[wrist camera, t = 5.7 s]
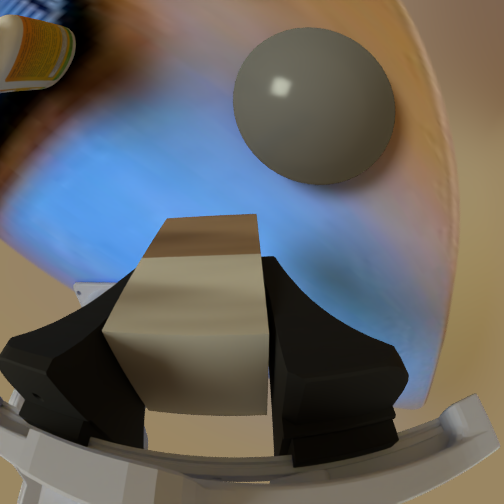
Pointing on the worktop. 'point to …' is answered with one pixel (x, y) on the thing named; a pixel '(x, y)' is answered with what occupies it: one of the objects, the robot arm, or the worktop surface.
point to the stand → (314, 106)
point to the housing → (196, 319)
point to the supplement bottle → (33, 53)
